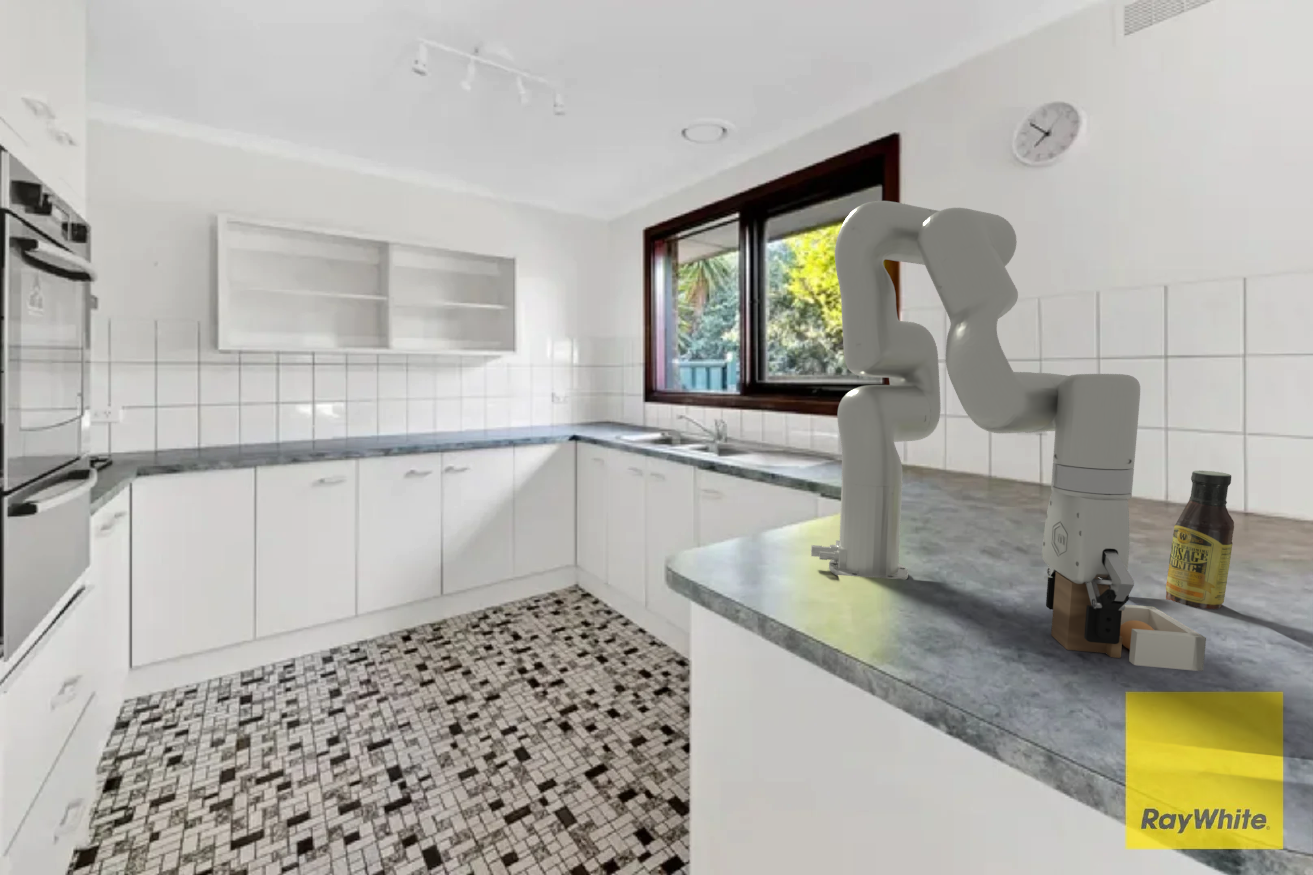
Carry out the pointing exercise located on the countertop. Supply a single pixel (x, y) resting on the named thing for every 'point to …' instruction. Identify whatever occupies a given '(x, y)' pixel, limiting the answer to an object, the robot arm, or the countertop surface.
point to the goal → (1163, 641)
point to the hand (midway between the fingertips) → (1079, 624)
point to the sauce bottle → (1202, 544)
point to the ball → (1127, 629)
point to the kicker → (1075, 618)
